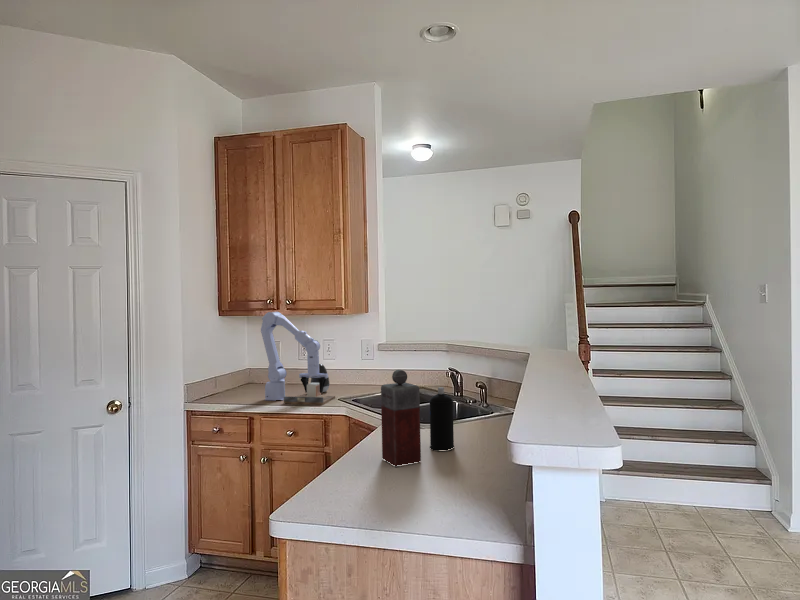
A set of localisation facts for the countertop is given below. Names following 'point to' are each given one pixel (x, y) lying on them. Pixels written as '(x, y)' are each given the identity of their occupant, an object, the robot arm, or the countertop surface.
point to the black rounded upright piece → (316, 380)
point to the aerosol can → (441, 421)
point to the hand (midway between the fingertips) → (314, 392)
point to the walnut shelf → (308, 400)
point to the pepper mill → (400, 421)
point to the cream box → (313, 390)
